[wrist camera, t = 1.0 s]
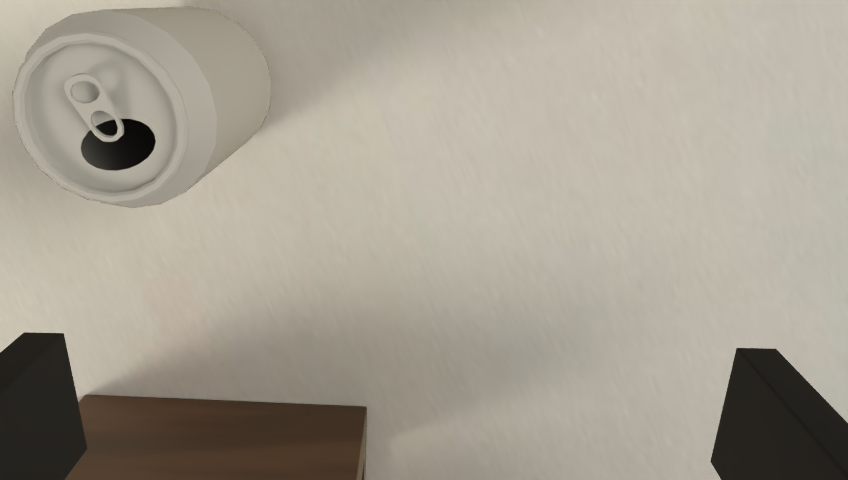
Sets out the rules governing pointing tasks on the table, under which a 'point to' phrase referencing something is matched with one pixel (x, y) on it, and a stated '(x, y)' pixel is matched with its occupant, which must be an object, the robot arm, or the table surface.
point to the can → (139, 101)
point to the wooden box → (219, 440)
